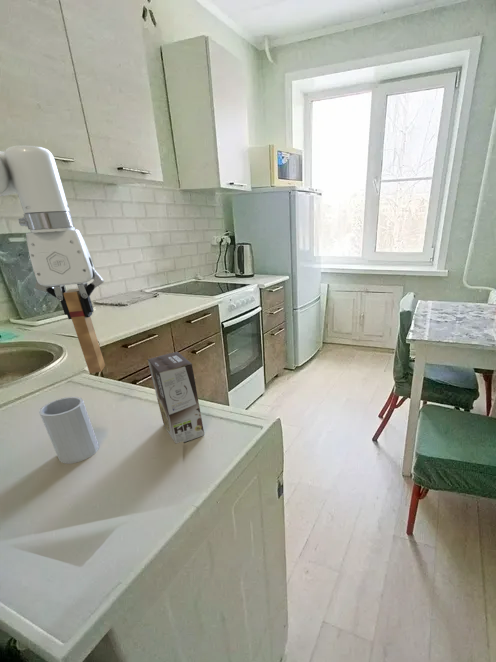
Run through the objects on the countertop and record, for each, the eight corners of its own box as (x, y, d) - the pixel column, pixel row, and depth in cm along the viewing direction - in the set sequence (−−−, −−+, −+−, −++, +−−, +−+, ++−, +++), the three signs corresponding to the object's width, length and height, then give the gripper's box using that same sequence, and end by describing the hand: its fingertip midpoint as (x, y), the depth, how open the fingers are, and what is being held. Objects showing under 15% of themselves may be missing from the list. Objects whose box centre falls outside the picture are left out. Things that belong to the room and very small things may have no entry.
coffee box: (206, 435, 73) (193, 363, 66) (175, 446, 70) (158, 372, 63) (191, 416, 80) (178, 350, 73) (163, 426, 77) (146, 357, 70)
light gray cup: (50, 463, 67) (29, 413, 62) (80, 441, 73) (62, 395, 68) (80, 468, 65) (60, 417, 61) (107, 446, 71) (91, 398, 67)
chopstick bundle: (89, 373, 80) (62, 293, 72) (93, 366, 83) (68, 289, 75) (101, 371, 80) (76, 291, 72) (105, 365, 84) (82, 288, 76)
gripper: (-6, 226, 63) (32, 326, 71) (91, 221, 66) (117, 316, 74) (13, 225, 70) (46, 316, 78) (100, 220, 73) (123, 308, 81)
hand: (80, 316), depth 76 cm, fingers closed on chopstick bundle, 2 cm apart
